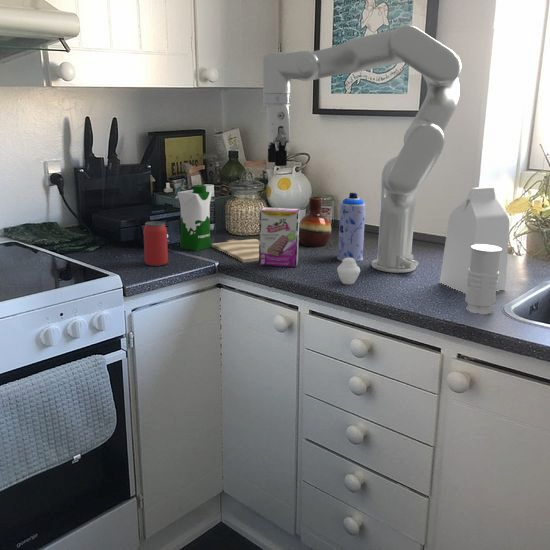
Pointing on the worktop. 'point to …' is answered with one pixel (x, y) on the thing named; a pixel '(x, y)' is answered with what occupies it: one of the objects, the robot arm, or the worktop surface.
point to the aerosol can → (351, 228)
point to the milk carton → (195, 218)
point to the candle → (482, 278)
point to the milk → (474, 237)
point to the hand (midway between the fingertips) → (277, 163)
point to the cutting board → (240, 249)
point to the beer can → (155, 243)
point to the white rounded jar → (348, 271)
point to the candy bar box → (279, 236)
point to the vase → (314, 225)
